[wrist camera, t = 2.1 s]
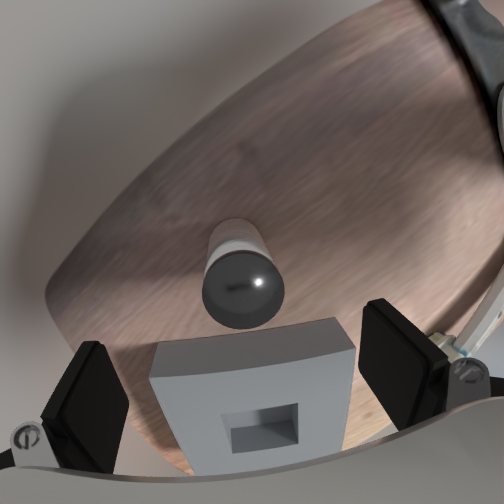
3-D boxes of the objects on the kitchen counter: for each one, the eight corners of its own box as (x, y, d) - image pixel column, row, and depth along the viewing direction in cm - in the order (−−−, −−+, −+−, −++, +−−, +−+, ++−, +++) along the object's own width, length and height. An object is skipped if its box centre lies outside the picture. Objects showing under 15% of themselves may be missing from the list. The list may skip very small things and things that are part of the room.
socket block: (335, 317, 26) (356, 347, 21) (328, 425, 31) (340, 455, 26) (158, 342, 25) (148, 377, 20) (197, 444, 30) (196, 477, 25)
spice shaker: (258, 214, 22) (281, 249, 14) (263, 264, 24) (286, 322, 15) (205, 222, 22) (195, 261, 14) (213, 271, 23) (209, 334, 15)
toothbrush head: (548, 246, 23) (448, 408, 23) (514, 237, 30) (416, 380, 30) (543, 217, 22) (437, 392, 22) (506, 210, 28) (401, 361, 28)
